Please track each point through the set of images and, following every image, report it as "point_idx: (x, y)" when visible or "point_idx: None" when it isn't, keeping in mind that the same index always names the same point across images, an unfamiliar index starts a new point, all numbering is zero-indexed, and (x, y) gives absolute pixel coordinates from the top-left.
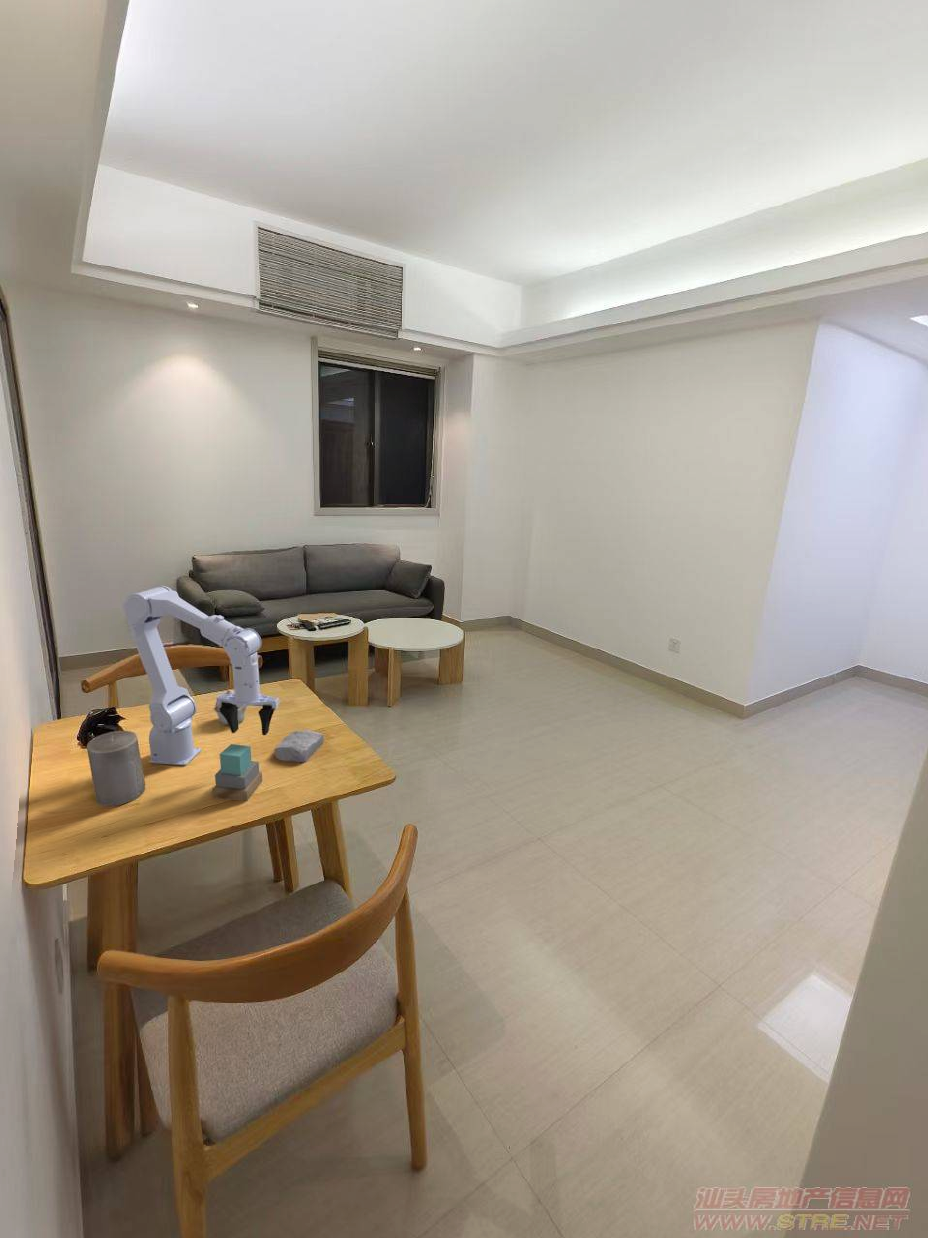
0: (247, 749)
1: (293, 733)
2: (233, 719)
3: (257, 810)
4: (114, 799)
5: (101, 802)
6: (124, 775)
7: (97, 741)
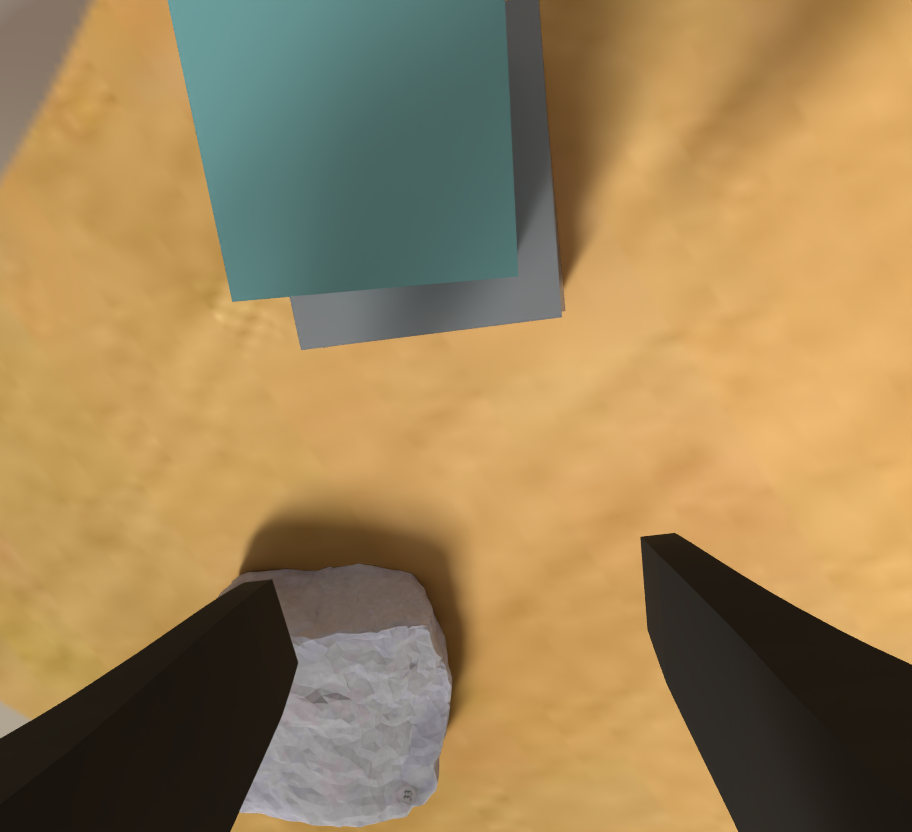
0: (215, 214)
1: (419, 789)
2: (748, 725)
3: (161, 19)
4: None
5: None
6: None
7: None
